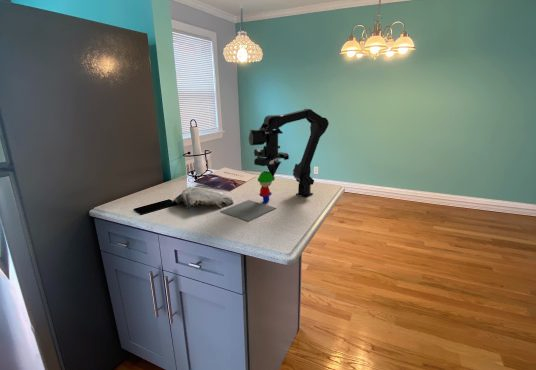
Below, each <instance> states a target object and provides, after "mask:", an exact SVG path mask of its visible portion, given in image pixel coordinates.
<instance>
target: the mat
mask: <svg viewBox="0 0 536 370" xmlns="http://www.w3.org/2000/svg"><path fill="white" fill-rule="evenodd" d="M276 209H277V207H275V206H271V205H267V204H266V203H261V202H256V201H254V200H251V199H247V200H245V201H244V200H243V201H242V202H240V203H237V204H233V205H231V206H229V207H227V208H224V209H222V210H220V211H219V212H220V213H222V214H226V215H228V216H231V217H234V218H237V219H240V220H243V221H246V222H247V223H248V222H251V221H252V220H255V219H257V218H259V217H261V216H263V215H266V214H267V213H270V212H272V211H274V210H276Z"/></svg>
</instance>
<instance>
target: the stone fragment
mask: <svg viewBox="0 0 536 370" xmlns="http://www.w3.org/2000/svg"><path fill="white" fill-rule="evenodd" d="M181 202H183V207H184V208H191V207H192V206H193V207H196V206H198V205H199V204H200V205H201V206H203V205H204V206H205V205H206V206H208V205H209V206H211V205H213V206H216V207H219V208H220V209H222V208H223V207H225V206H226V207H228V206H234V205H235V203H234V200H233V198H232V197H229V196H228V195H226V194H225V193H220V192H218V191H213V190H208V189H205V188H202V187H197V186H195V187H194V186H189V187H187V188H185V189H184V190H182V192H181V193H180V194H179V195H178V196H176V197H175V198H174V199H173V200H172V201H171V202H170V204H171V203H172V204H174V203H176V204H180V203H181ZM172 204H171V205H172Z"/></svg>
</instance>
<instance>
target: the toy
mask: <svg viewBox="0 0 536 370" xmlns="http://www.w3.org/2000/svg"><path fill="white" fill-rule="evenodd" d="M275 180H276V179H275V175H274V176H272V174H271V173H270V172H269V170H268V171H267V170H265V171H262V172H261V173H260V174H259V176H258V177H257V182H258V183H259V185H260V186H261V187H260V190H259V196H260V197H262V200H263V203H262V204H268V203H269V201H270V196H272V192H271V189H270V188H269V187H270V186H271V185H272V183H273V182H274V181H275Z"/></svg>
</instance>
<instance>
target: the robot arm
mask: <svg viewBox="0 0 536 370" xmlns="http://www.w3.org/2000/svg"><path fill="white" fill-rule="evenodd" d="M304 119H306V121H307V122H308V123H310V126H309V128H310V129H309V130H310V135H309V138H308V140H307V143H306V146H305V149H304V151H303V155H302V158H301V160H300V162H299V163H295V164H294V167H293V169H292V176H293V177H294V179H295V180H296V182H298V191H297V193H295V196H298V197H303V198H308V197H310V196H312V195H314V193H313V192H312V191H311V187H312V185H314V183H315V180H314V179H313V178H312V176H311V172H312V170H311V165H312V161H313V158H314V155H315V152H316V149H317V147H318V144H319V142H320V139H321V137H322V136H323V135H324V134H325V133H326V130H327V129H328V127H329V125H330V124H329V123H330V122H329V120H328V119H327V118H326V117H323V116H321V115H320V114H318V113H316V112H315V111H314V110H313V109H311V108H304V109H302V110H296V111H293V112H289V113H285V114H271V115H270V114H269V115H266V116H265V117H264V119H263V123H262V124H261V126H260V127H259V129H250V130H249V131H250V132H249V136H248V142H249V145H250V146H259V145H260V146H261V145H263V148H262V149H260V148H256V149H254V150H253V151H254V152H253V153H254V154H253V155H254V157H256V158H254V160H253V161H254V162H253V163H254V164H253V165H255V166H260V167H267V169H268V172H270V173H271V174H272V176H274V177H275V175H276V173H277V170H278V169H279V166H280V165H281V164H282V161H280V160H281V159H283V160H284V161H287V160H289V159H290V155H289V154H288V153H287V152H281V151H280V152H279V149H280V148H281V146H280V145H279V135H280V134H283V133H284V132H283V131H282V130H281V129H280V128H282V127H283V126H284V125H286V124H289V123H293V122H297V121H300V120H301V121H302V120H304ZM264 144H265V145H264Z"/></svg>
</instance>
